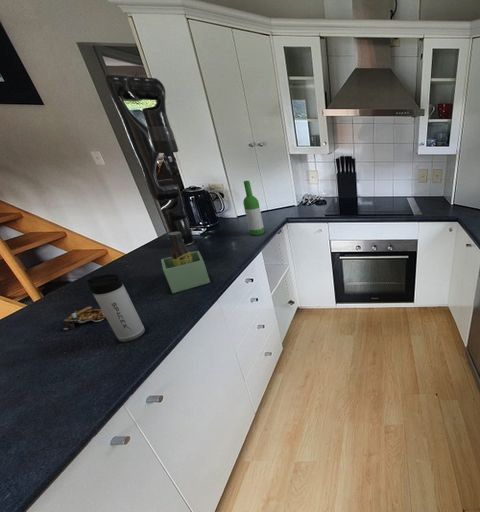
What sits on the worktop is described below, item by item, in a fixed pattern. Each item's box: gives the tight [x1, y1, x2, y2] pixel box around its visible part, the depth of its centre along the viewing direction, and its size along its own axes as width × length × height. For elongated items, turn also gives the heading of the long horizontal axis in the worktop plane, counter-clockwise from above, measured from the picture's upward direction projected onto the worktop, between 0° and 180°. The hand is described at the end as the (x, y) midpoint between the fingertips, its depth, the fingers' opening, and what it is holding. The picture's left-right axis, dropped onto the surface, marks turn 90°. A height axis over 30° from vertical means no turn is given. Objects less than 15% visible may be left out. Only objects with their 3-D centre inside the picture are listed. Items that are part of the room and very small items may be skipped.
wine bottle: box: [242, 180, 265, 236], centre depth 151 cm, size 8×8×30 cm
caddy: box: [160, 250, 211, 294], centre depth 108 cm, size 12×13×10 cm
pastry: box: [63, 306, 107, 331], centre depth 88 cm, size 7×12×4 cm, turn 125°
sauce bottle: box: [167, 232, 193, 267], centre depth 105 cm, size 6×6×20 cm
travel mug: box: [86, 273, 146, 343], centre depth 78 cm, size 6×7×20 cm
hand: (176, 182), depth 111 cm, fingers open, 8 cm apart
